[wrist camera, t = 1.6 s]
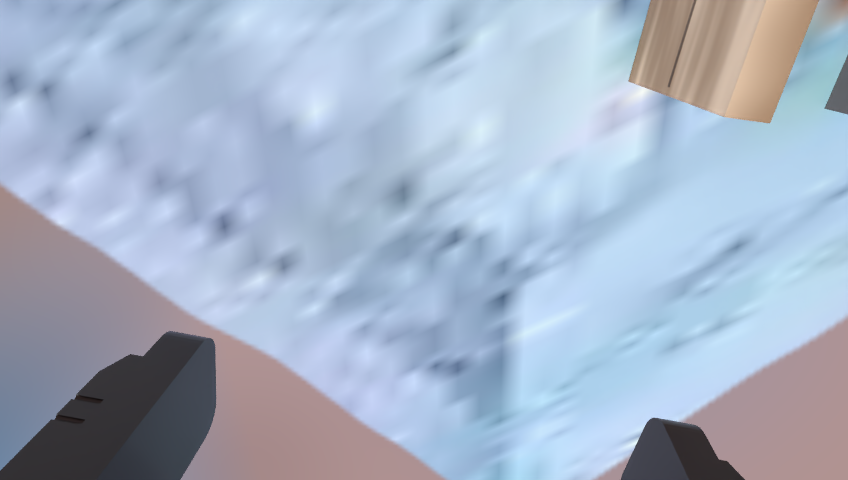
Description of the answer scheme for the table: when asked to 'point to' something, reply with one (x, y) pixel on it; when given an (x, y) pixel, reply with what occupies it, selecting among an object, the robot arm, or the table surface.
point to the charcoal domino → (840, 92)
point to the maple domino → (722, 52)
